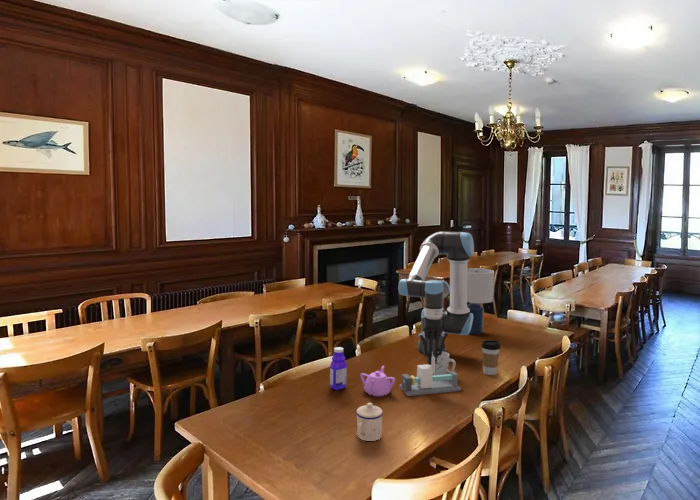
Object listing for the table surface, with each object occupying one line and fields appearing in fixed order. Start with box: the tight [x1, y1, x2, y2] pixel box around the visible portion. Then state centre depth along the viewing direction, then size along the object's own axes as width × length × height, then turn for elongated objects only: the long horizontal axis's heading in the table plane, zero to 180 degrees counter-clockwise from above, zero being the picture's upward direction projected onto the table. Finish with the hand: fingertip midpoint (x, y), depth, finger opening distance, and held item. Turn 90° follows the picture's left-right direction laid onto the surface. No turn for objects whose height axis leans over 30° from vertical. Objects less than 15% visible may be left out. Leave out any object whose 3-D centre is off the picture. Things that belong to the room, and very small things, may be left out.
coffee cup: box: [481, 339, 501, 376], centre depth 223 cm, size 8×8×15 cm
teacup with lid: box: [355, 402, 384, 441], centre depth 161 cm, size 12×9×12 cm
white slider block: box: [416, 363, 433, 389], centre depth 203 cm, size 5×5×8 cm
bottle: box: [329, 346, 348, 391], centre depth 204 cm, size 7×6×17 cm
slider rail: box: [399, 371, 462, 397], centre depth 204 cm, size 10×24×6 cm, turn 104°
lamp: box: [467, 267, 495, 336], centre depth 287 cm, size 20×20×39 cm
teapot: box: [359, 365, 396, 397], centre depth 200 cm, size 12×14×9 cm
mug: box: [432, 351, 457, 376], centre depth 219 cm, size 11×8×10 cm
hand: (431, 371), depth 203 cm, fingers closed
